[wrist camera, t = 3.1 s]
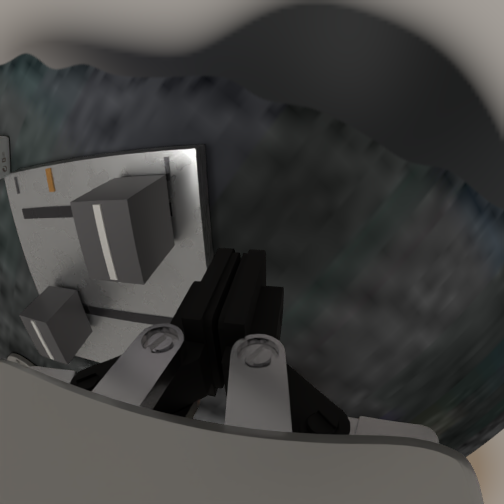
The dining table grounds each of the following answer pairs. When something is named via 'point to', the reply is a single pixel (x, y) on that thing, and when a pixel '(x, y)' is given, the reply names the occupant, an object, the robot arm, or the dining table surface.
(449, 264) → the dining table surface
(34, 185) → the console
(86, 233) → the fader
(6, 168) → the skincare box
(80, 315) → the fader
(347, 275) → the dining table surface
